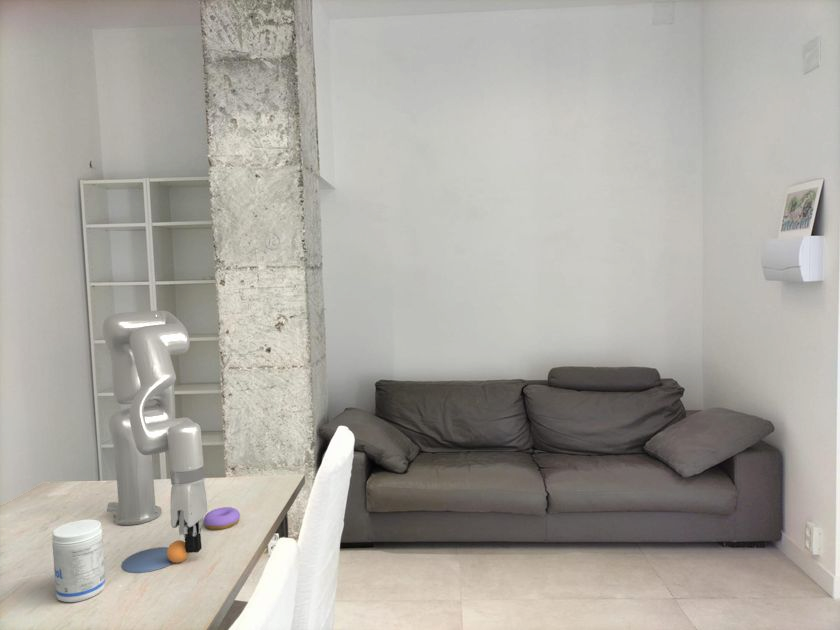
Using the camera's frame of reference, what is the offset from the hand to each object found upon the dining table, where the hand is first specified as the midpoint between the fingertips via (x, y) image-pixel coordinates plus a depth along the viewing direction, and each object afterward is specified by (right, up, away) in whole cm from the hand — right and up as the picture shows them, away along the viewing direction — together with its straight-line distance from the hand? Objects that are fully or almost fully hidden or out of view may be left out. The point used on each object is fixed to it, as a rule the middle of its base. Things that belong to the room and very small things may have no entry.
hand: (193, 551), depth 149 cm
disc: (-11, -3, +2) cm, 12 cm away
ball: (-4, 0, +1) cm, 4 cm away
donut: (0, -2, +23) cm, 23 cm away
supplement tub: (-20, -5, -13) cm, 24 cm away
